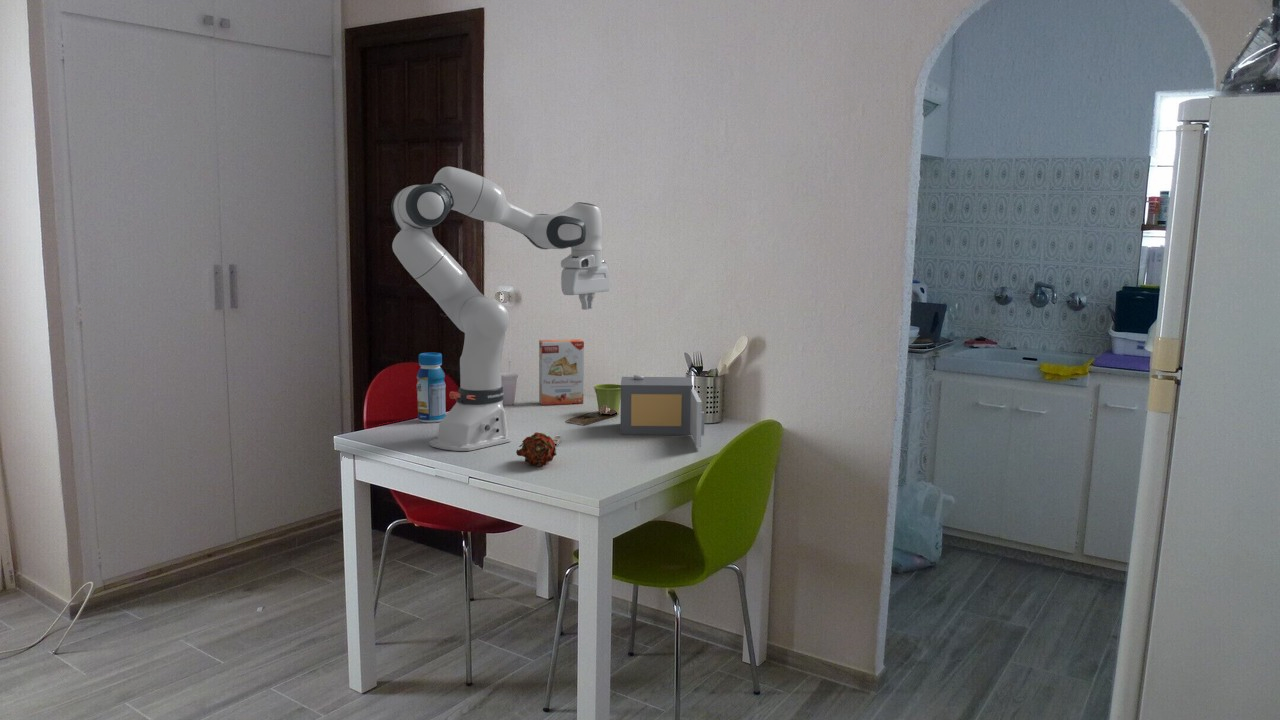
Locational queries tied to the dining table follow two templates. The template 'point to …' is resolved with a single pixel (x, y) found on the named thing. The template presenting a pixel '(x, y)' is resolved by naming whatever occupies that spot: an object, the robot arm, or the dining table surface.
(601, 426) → the dining table surface
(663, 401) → the gray cabinet
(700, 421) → the side door
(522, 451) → the dragon fruit
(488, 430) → the robot arm
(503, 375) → the smoothie
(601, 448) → the dining table surface
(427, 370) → the beverage bottle
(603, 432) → the dining table surface
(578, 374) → the cracker box
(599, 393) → the plant pot
